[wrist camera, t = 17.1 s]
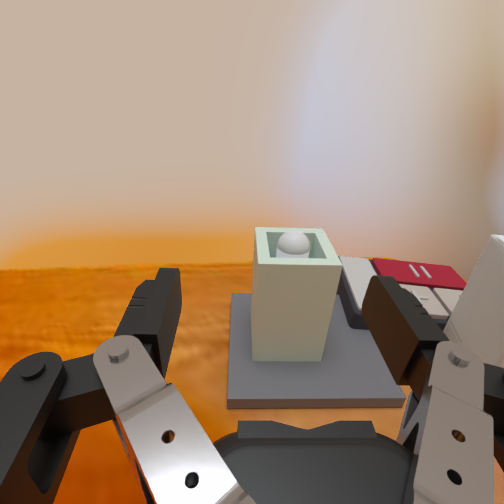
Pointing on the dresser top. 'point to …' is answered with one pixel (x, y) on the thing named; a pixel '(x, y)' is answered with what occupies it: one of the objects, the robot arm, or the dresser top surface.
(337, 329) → the post stand
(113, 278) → the dresser top surface
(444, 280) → the dark gray paneled box
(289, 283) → the sleeve
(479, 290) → the supplement box
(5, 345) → the dresser top surface
